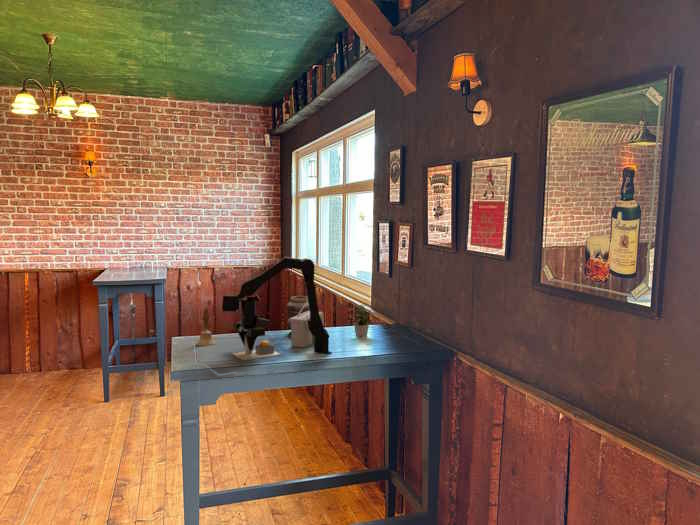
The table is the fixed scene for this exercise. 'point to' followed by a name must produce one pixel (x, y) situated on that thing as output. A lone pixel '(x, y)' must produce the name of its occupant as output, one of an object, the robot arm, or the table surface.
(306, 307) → the apothecary jar
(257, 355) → the board
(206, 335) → the hand bell
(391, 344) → the table surface
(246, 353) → the sage marker
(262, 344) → the button
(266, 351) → the button housing
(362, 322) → the house plant
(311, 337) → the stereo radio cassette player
